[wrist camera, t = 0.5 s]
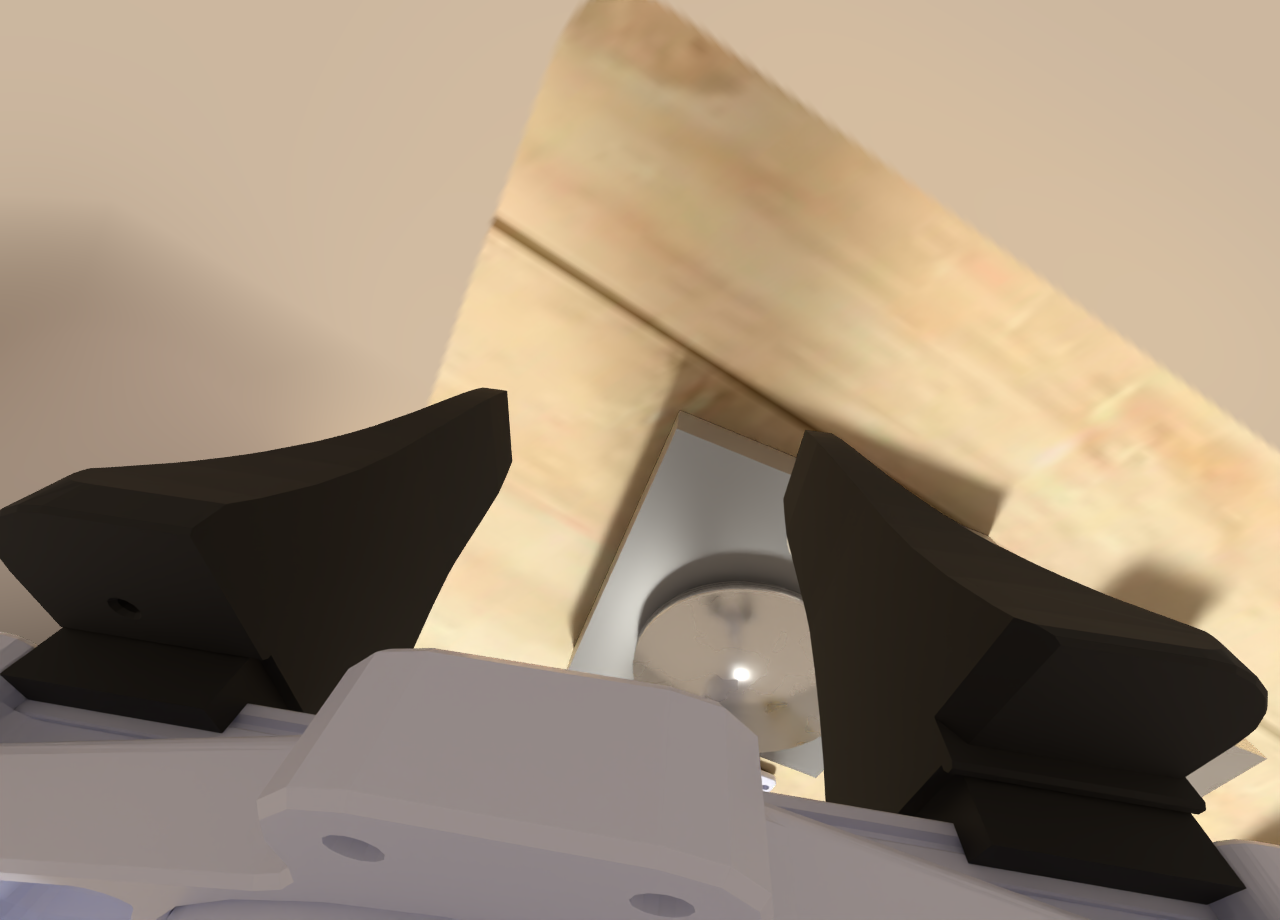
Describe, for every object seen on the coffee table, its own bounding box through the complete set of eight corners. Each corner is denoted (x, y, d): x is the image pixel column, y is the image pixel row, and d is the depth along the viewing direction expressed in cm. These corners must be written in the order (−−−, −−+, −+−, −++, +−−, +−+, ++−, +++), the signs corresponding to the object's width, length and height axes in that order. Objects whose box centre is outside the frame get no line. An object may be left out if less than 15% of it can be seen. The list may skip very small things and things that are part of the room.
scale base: (808, 738, 30) (817, 783, 27) (573, 649, 29) (561, 686, 27) (988, 536, 22) (1023, 572, 20) (679, 410, 22) (676, 431, 19)
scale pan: (786, 763, 27) (789, 777, 26) (606, 694, 26) (604, 707, 25) (902, 633, 22) (909, 647, 21) (684, 547, 21) (683, 558, 21)
